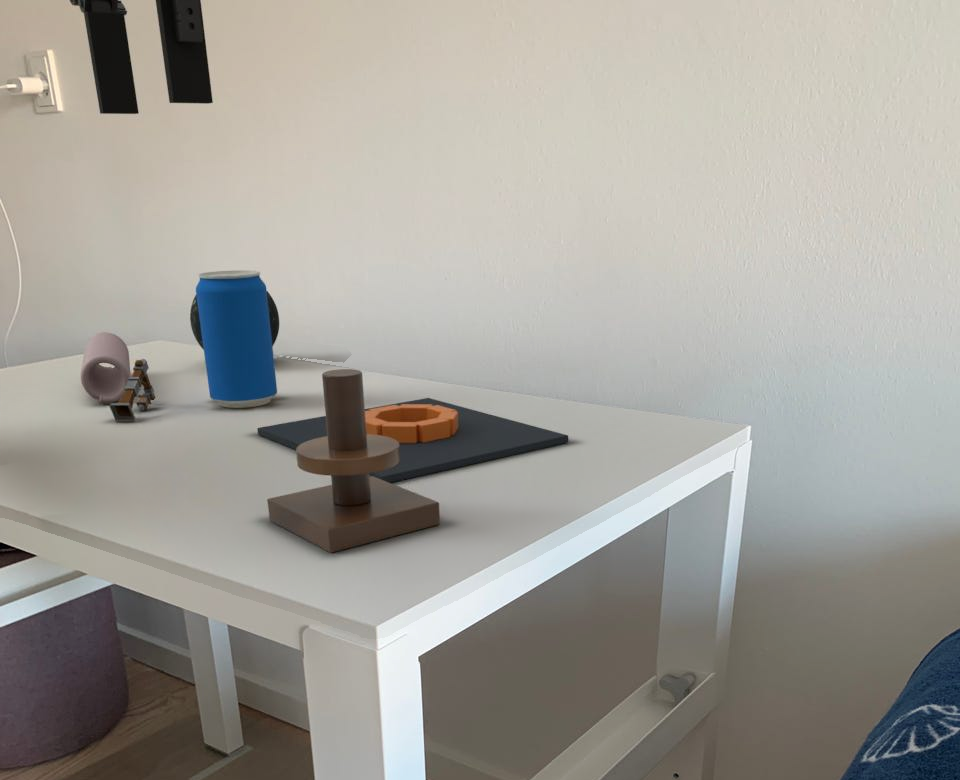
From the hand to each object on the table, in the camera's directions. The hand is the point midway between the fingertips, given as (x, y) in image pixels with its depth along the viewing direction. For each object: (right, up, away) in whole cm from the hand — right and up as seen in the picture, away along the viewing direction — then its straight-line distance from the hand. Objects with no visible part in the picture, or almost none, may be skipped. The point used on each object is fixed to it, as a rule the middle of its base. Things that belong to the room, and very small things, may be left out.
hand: (153, 109), depth 71 cm
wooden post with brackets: (-10, -16, +24) cm, 31 cm away
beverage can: (0, -15, +27) cm, 31 cm away
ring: (+17, -20, +13) cm, 29 cm away
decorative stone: (-5, -6, +47) cm, 47 cm away
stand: (+15, -30, -7) cm, 34 cm away
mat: (+17, -21, +13) cm, 30 cm away
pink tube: (-16, -11, +36) cm, 41 cm away
